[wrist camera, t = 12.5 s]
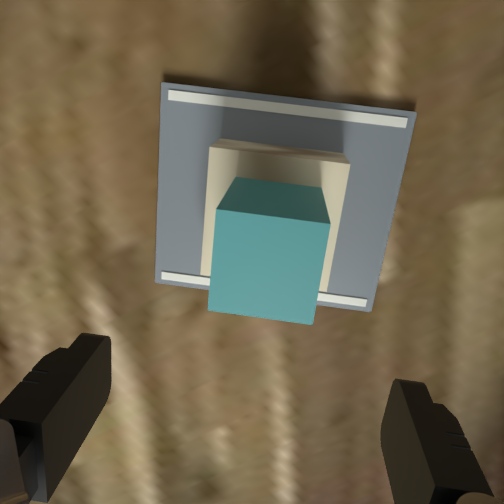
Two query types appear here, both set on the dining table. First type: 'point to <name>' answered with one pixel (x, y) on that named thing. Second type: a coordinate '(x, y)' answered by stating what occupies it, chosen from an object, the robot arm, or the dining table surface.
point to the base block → (277, 170)
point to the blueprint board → (291, 135)
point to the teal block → (269, 250)
